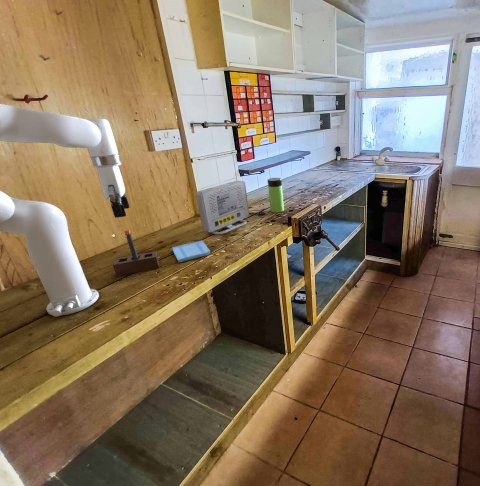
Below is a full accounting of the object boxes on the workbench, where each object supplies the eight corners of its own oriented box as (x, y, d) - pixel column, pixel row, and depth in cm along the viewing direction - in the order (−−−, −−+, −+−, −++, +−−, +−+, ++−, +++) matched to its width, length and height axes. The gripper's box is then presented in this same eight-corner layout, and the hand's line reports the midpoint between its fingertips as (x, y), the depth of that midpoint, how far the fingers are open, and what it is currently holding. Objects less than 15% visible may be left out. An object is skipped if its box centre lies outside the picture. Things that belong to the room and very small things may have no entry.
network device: (241, 217, 162) (235, 179, 153) (254, 220, 157) (248, 180, 149) (200, 234, 142) (191, 191, 134) (213, 237, 138) (205, 193, 130)
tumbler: (268, 210, 172) (265, 178, 165) (281, 207, 175) (278, 176, 168) (273, 213, 166) (269, 181, 159) (286, 211, 169) (283, 179, 162)
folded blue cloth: (211, 254, 123) (210, 251, 122) (178, 262, 117) (177, 259, 116) (202, 243, 133) (202, 240, 132) (172, 250, 127) (171, 247, 126)
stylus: (141, 269, 113) (129, 230, 107) (136, 270, 112) (124, 231, 106) (141, 267, 114) (130, 229, 108) (136, 268, 114) (124, 230, 107)
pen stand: (159, 267, 113) (155, 256, 112) (116, 276, 109) (112, 265, 107) (159, 261, 118) (156, 251, 116) (118, 269, 113) (115, 258, 111)
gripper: (97, 158, 104) (113, 207, 111) (86, 166, 89) (105, 222, 97) (123, 156, 107) (137, 204, 114) (116, 163, 92) (132, 218, 99)
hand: (122, 212), depth 105 cm, fingers open, 9 cm apart
